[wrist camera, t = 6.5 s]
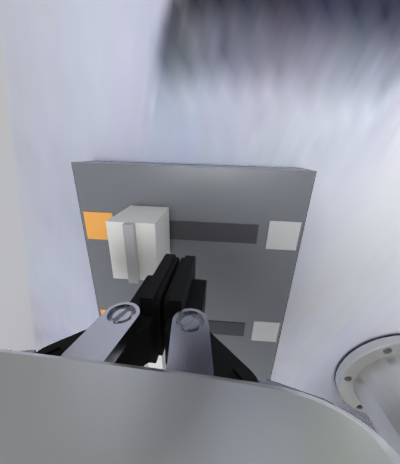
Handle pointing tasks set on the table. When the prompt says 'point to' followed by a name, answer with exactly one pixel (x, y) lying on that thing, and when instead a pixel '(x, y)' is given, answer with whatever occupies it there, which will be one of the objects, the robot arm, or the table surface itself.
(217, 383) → the robot arm
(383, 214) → the table surface
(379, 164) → the table surface
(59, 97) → the table surface
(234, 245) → the switch panel
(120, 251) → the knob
